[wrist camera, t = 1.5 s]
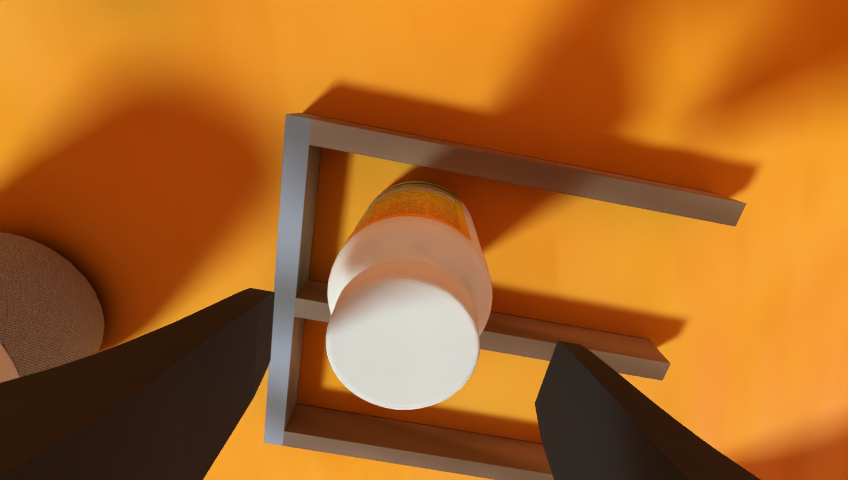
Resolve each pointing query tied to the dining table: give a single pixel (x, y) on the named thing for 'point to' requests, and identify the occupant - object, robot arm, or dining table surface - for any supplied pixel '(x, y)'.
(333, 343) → the supplement bottle
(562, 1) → the dining table surface
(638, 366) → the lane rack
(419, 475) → the dining table surface
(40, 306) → the smart speaker
